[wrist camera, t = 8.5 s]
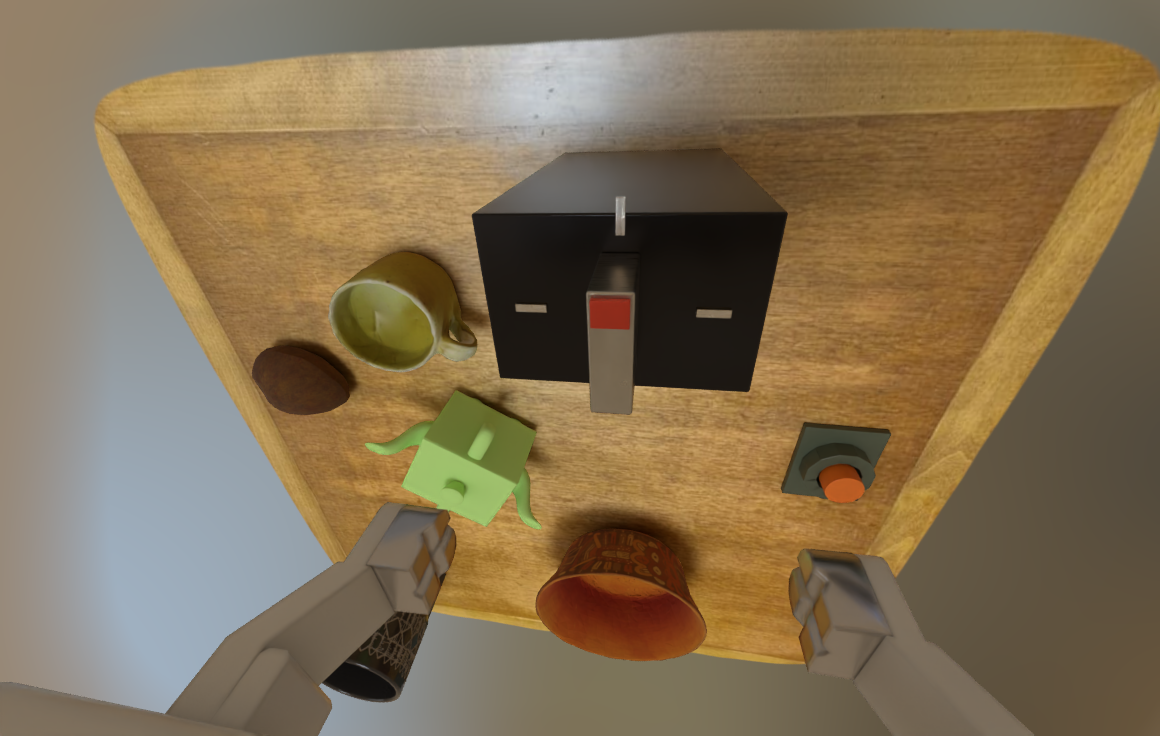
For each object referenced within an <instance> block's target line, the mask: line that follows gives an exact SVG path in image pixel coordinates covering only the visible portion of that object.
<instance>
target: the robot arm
mask: <svg viewBox="0 0 1160 736" xmlns="http://www.w3.org/2000/svg"><path fill="white" fill-rule="evenodd" d="M449 521H450V516H449V513H448V510H446V509H438V508H430V507H422V506H414V505H408V504H399V503H390V502H387V503H386V504H384V505H383V506H382V507H381V508H380V509H379V511H378V512H377V514H376V515H375V517H374V518H373V520H372V521H371V522H370V524H369V525H368V527H367V528H366V530H365V531H364V533H363V534H362V536H361V537H360V539H359V540H358V542H357V543H356V545H355V546H354V548H353V549H352V551H351V552H350V554H349V555H348V557H347V558H346V560H345V561H344V562H337V563H335V564H334V565H332V566H331V567H329V568H328V569H327V570H325V571H324V572H322V573H320V574H319V575H317V576H316V577H315V578H313V579H312V580H310V581H309V582H307V583H306V584H304V585H303V586H301V587H300V588H298V589H297V590H295V591H294V592H292V593H291V594H289V595H288V596H286V597H285V598H283V599H282V600H280V601H279V602H277V603H276V604H275V605H273V606H272V607H270V608H269V609H267V610H266V611H264V612H263V613H261V614H260V615H258V616H257V617H255V618H254V619H252V620H251V621H250V622H248V623H246V624H245V625H243V626H242V627H240V628H239V629H237V630H236V631H235V632H233V633H232V634H230V635H229V636H227V637H226V638H225V639H224V641H223V642H222V643H221V644H220V646H219V647H218V648H217V649H216V651H215V652H214V653H213V654H212V656H211V657H210V658H209V659H208V661H207V662H206V663H205V665H204V666H203V667H202V668H201V670H200V671H199V672H198V673H197V675H196V676H195V677H194V678H193V679H192V681H191V682H190V683H189V685H188V686H187V687H186V688H185V689H184V691H183V692H182V693H181V695H180V696H179V697H178V698H177V700H176V701H175V702H174V703H173V705H172V706H171V707H170V708H169V710H168V711H167V712H166V713H165V714H163V713H158V712H153V711H148V710H143V709H139V708H133V707H129V706H124V705H120V704H115V703H110V702H105V701H100V700H95V699H91V698H86V697H81V696H76V695H71V694H67V693H62V692H57V691H52V690H47V689H43V688H38V687H34V686H29V685H24V684H19V683H13V682H0V736H318V735H319V733H320V731H321V729H322V726H323V725H324V723H325V721H326V719H327V717H328V715H329V713H330V711H331V709H332V704H331V700H330V699H329V698H328V696H327V695H326V694H325V693H324V692H323V691H322V690H321V688H320V687H319V685H320V684H321V683H322V682H323V681H324V680H325V679H326V678H327V677H328V676H329V675H330V674H332V673H333V672H334V671H335V670H336V669H337V668H338V667H339V666H340V665H341V664H342V663H343V662H344V661H345V660H346V659H347V658H348V657H349V656H350V655H351V654H352V653H354V652H355V651H356V650H357V649H358V648H359V647H360V646H361V645H362V644H363V643H364V642H365V641H366V640H367V639H368V638H369V637H370V636H371V635H372V634H373V633H374V632H376V631H377V630H378V629H379V628H380V627H381V626H382V625H383V624H384V623H385V622H386V621H387V620H388V619H389V618H390V617H391V616H392V615H393V614H394V613H395V612H394V611H400V612H409V613H417V614H426V615H429V613H430V611H431V608H432V606H433V604H434V602H435V599H436V597H437V595H438V593H439V590H440V588H441V585H440V580H439V577H440V576H441V575H442V574H443V573H445V572H446V571H447V570H448V569H449V568H450V565H451V563H452V560H453V558H454V554H455V549H456V535H455V531H454V530H453V529H452V528H451V527H450V526H449V525H448V523H449ZM797 559H798V562H799V567H797V568H795V569H793V570H792V572H791V575H790V578H789V599H790V605H791V609H792V613H793V615H794V617H795V618H796V619H797V620H798V621H799V622H800V623H801V625H802V626H803V629H802V631H801V633H800V635H799V640H800V644H801V648H802V652H803V655H804V659H805V663H806V667H807V670H808V672H810V673H815V674H821V675H827V676H832V677H838V678H844V679H850V680H854V681H853V684H854V685H855V686H856V688H857V689H858V690H859V692H860V693H861V694H862V696H863V697H864V698H865V699H866V701H867V702H868V703H869V705H870V706H871V707H872V709H873V710H874V711H875V713H876V714H877V715H878V717H879V718H880V719H881V720H882V722H883V723H884V725H885V726H886V727H887V728H888V730H889V731H890V732H891V734H892V735H893V736H1035V735H1034V734H1033V733H1032V732H1031V731H1030V730H1029V729H1027V728H1026V727H1025V726H1024V725H1023V724H1022V723H1021V722H1020V721H1019V720H1018V719H1017V718H1016V717H1014V716H1013V715H1012V714H1011V713H1010V712H1009V711H1008V710H1007V709H1006V708H1005V707H1004V706H1002V705H1001V704H1000V703H999V702H998V701H997V700H996V699H995V698H994V697H993V696H992V695H991V694H990V693H988V692H987V691H986V690H985V689H984V688H983V687H982V686H981V685H980V684H979V683H978V682H976V680H974V679H973V678H972V677H971V676H970V675H969V674H968V673H967V672H966V671H965V670H964V669H962V668H961V667H960V666H959V665H958V664H957V663H956V662H955V661H954V660H953V659H952V658H951V657H950V656H948V655H947V654H946V653H945V652H944V651H943V650H942V649H941V648H940V647H939V646H938V645H937V644H935V643H934V642H928V641H926V640H925V639H924V637H923V634H922V632H921V630H920V628H919V626H918V624H917V622H916V620H915V618H914V616H913V614H912V612H911V610H910V608H909V607H908V604H907V602H906V600H905V598H904V596H903V594H902V592H901V590H900V588H899V586H898V584H897V582H896V580H895V578H894V576H893V574H892V572H891V570H890V568H889V566H888V564H887V562H886V561H885V560H884V559H883V558H882V557H878V556H870V555H858V554H853V553H847V552H836V551H826V550H815V549H803V550H801V551H800V553H799V555H798V557H797Z"/></svg>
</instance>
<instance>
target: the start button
mask: <svg viewBox="0 0 1160 736" xmlns="http://www.w3.org/2000/svg"><path fill="white" fill-rule="evenodd" d="M819 481H820V483H821V486H822V488H823V491H824V493H825V495H826V497H827V498H828V499H829V500H831V501H834V502H838V503H847V502H852V501H854V500H857V499H858V498H860V497H861V496H862V495H863V493H864V491H865V487H864V485H863V483H862V481H861V479H860V477H859V475H858V473H857V471H856V469H855V468H854V467H852V466H850V465H847V464H836V465H832V466H828V467H826V468H825V469H823V470H822V471H821V472H820V474H819Z"/></svg>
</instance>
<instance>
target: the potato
mask: <svg viewBox="0 0 1160 736" xmlns="http://www.w3.org/2000/svg"><path fill="white" fill-rule="evenodd" d="M252 376H253V379H254V380H255V382H256V383H257V385H258V386H259V388H260V389H261V390H262V392H263V393H264V395H265V397H266V399H267V401H268V402H269V403H270V404H272V405H273V406H274V407H275V408H277V409H279V410H281V411H283V412H286V413H290V414H298V415H310V414H318V413H324V412H328V411H331V410H333V409H335V408H337V407H338V406H340V405H342V404H343V403H345V402H347V400H348V398H349V397H350V395H349V385H348V383H347V382H346V380H345V378H344V377H343V376H342V375H341V374H340V373H339V372H338V371H337V370H336V369H335V368H334V367H332V366H331V365H330V364H329V363H328V362H327V361H325V360H324V359H323V358H321V357H319V356H317V355H315V354H313V353H311V352H308V351H306V350H303V349H300V348H297V347H291V346H277V347H272V348H267V349H266V350H264V351H263V352H261V353H260V355H259V356H258V357H257V358H256V359H255V362H254V366H253V370H252Z"/></svg>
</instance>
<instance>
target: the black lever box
mask: <svg viewBox="0 0 1160 736" xmlns="http://www.w3.org/2000/svg"><path fill="white" fill-rule="evenodd" d="M787 216H788V213H787V212H786V211H785V210H784V209H783V208H782V207H781V206H780V205H779V204H778V203H777V202H776V201H775V200H774V199H773V198H772V197H771V196H770V195H769V194H768V193H767V192H766V191H765V190H764V189H763V188H762V187H761V186H760V185H759V184H757V183H756V182H755V181H754V180H753V179H752V178H751V177H750V176H749V175H748V174H747V173H746V172H745V171H744V170H743V169H742V168H741V167H740V166H739V165H738V164H737V163H736V162H735V161H734V160H733V159H732V158H731V157H730V156H728V155H727V154H726V153H725V152H724V151H723V150H722V149H721V148H716V149H680V150H644V151H609V152H573V153H564V154H562V155H561V156H559V157H558V158H556V159H555V160H553V161H552V162H550V163H549V164H547V165H546V166H544V167H543V168H541V169H540V170H538V171H537V172H535V173H534V174H532V175H531V176H529V177H528V178H526V179H524V180H523V181H521V182H520V183H518V184H517V185H515V186H514V187H512V188H511V189H509V190H508V191H506V192H505V193H503V194H502V195H500V196H499V197H497V198H496V199H494V200H493V201H491V202H490V203H488V204H487V205H485V206H484V207H482V208H481V209H479V210H478V211H476V212H475V213H473V214H472V219H473V225H474V231H475V236H476V242H477V248H478V254H479V259H480V265H481V271H482V277H483V282H484V288H485V294H486V299H487V305H488V311H489V317H490V322H491V328H492V334H493V340H494V345H495V351H496V357H497V362H498V368H499V374H500V378H510V379H528V380H546V381H563V382H581V383H589V358H588V333H587V308H586V292H587V289H588V287H589V284H590V281H591V278H592V276H593V273H594V270H595V267H596V265H597V262H598V259H599V256H600V254H602V253H633V254H640V275H639V305H638V336H637V362H636V373H635V385H634V386H651V387H669V388H686V389H704V390H722V391H739V392H749V390H750V386H751V381H752V376H753V372H754V367H755V363H756V358H757V354H758V349H759V344H760V340H761V335H762V331H763V326H764V321H765V317H766V312H767V308H768V303H769V298H770V294H771V289H772V285H773V280H774V275H775V271H776V266H777V262H778V257H779V252H780V248H781V243H782V239H783V234H784V229H785V225H786V220H787Z"/></svg>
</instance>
